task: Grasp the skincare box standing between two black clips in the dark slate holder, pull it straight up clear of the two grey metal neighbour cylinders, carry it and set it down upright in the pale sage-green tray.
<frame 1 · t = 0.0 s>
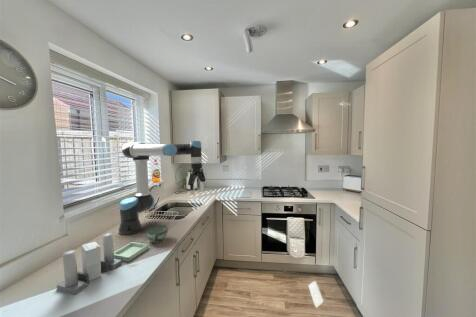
hand: (197, 192, 144), 28 cm above the countertop, fingers open, 13 cm apart
bowl: (157, 241, 131), on the countertop
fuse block: (92, 275, 97), on the countertop
skincare box: (92, 275, 97), on the countertop
tray: (130, 253, 117), on the countertop
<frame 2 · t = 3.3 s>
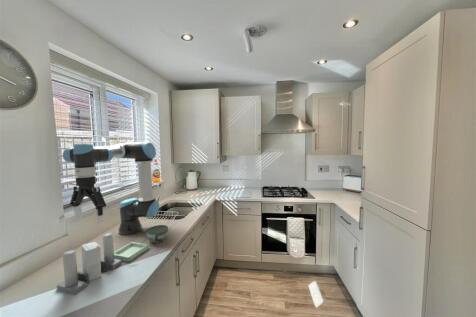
hand: (88, 220, 95), 27 cm above the countertop, fingers open, 13 cm apart
nothing on the countertop moved.
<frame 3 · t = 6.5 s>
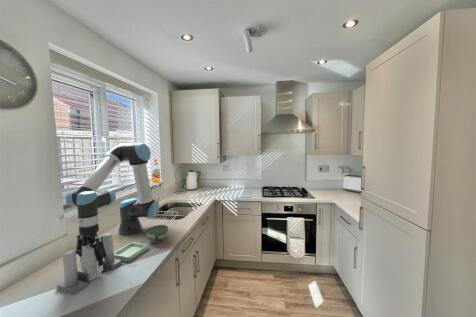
hand: (92, 270, 97), 3 cm above the countertop, fingers closed on skincare box, 10 cm apart
skincare box: (92, 275, 97), on the countertop, touching gripper
everything else where it was.
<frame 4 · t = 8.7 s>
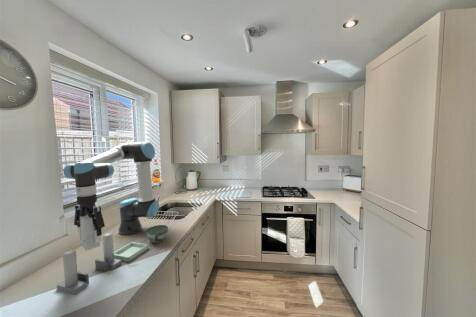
hand: (90, 240, 96), 17 cm above the countertop, fingers closed on skincare box, 9 cm apart
skincare box: (91, 246, 96), point 14 cm above the countertop, touching gripper
everything else where it was.
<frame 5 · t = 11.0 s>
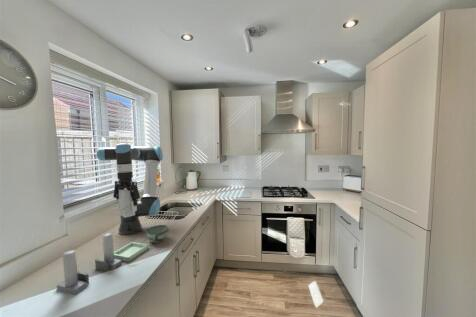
hand: (127, 210, 115), 25 cm above the countertop, fingers closed on skincare box, 10 cm apart
skincare box: (127, 215, 115), point 22 cm above the countertop, touching gripper
everything else where it was.
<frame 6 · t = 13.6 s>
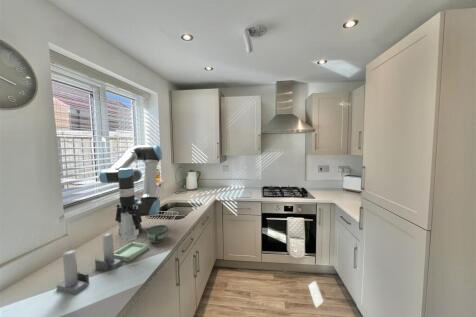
hand: (129, 233, 116), 12 cm above the countertop, fingers closed on skincare box, 10 cm apart
skincare box: (129, 238, 116), point 9 cm above the countertop, touching gripper
everything else where it was.
when the fingers open (5 cm above the countertop, at t = 15.9 s): skincare box drops 2 cm, resting on tray.
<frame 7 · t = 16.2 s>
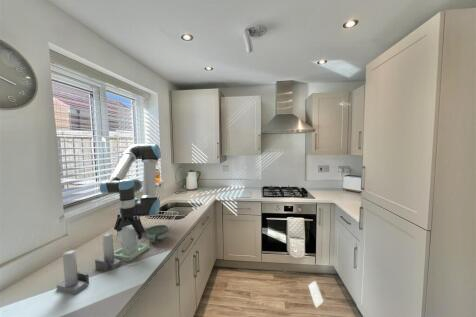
hand: (129, 243, 116), 6 cm above the countertop, fingers open, 13 cm apart
skincare box: (131, 252, 116), resting on tray
everything else where it was.
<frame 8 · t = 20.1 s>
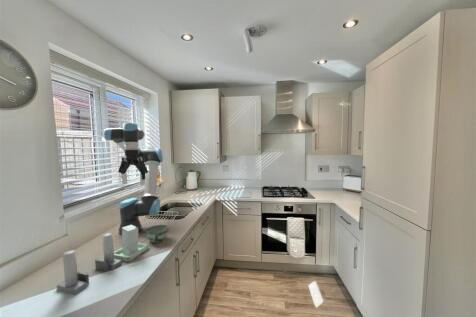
hand: (133, 184, 121), 39 cm above the countertop, fingers open, 13 cm apart
nothing on the countertop moved.
at the end: skincare box inside the target area on the tray (0.5 cm from its centre), point 0.4 cm above the tray's base; skincare box tilted 0°; the gripper is holding nothing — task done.
